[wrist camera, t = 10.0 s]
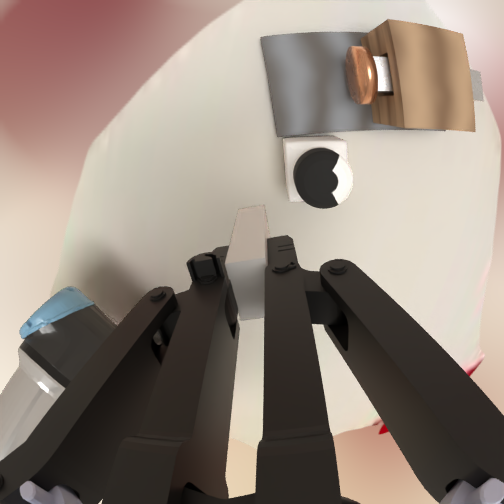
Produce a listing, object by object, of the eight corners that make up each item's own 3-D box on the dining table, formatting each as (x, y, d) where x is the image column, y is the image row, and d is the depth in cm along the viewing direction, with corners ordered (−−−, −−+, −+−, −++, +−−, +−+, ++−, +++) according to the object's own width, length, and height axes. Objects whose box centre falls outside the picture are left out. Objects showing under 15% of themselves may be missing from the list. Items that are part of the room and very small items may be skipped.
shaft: (350, 104, 30) (368, 104, 24) (342, 52, 27) (358, 40, 21) (461, 109, 28) (491, 113, 22) (456, 63, 25) (485, 60, 19)
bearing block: (277, 136, 36) (279, 145, 26) (260, 39, 30) (256, 12, 20) (440, 129, 33) (486, 141, 23) (429, 42, 27) (473, 30, 17)
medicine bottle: (286, 187, 40) (291, 218, 29) (282, 137, 36) (287, 147, 26) (336, 185, 39) (359, 214, 28) (334, 135, 36) (360, 145, 25)
